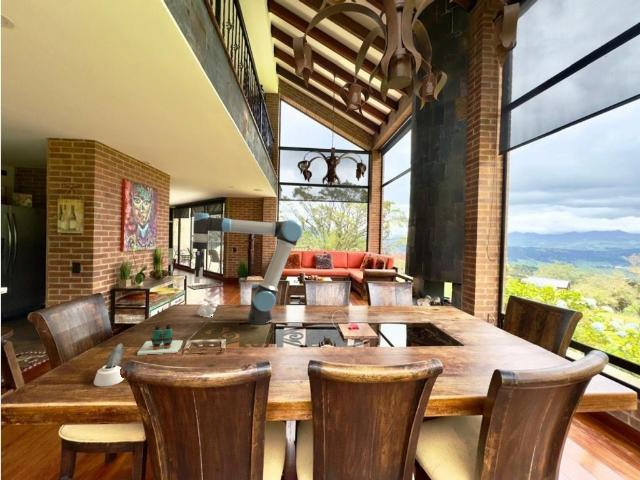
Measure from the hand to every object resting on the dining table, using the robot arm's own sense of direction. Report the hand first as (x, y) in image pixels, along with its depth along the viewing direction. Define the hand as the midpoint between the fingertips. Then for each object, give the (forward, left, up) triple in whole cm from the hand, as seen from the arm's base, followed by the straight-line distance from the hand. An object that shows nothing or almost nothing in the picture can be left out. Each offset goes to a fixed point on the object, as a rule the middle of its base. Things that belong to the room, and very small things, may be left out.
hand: (198, 280), depth 179 cm
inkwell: (+23, +54, -27) cm, 65 cm away
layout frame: (-7, +27, -27) cm, 39 cm away
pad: (+12, +27, -27) cm, 40 cm away
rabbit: (-4, -28, -27) cm, 39 cm away
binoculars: (+12, +27, -26) cm, 39 cm away
